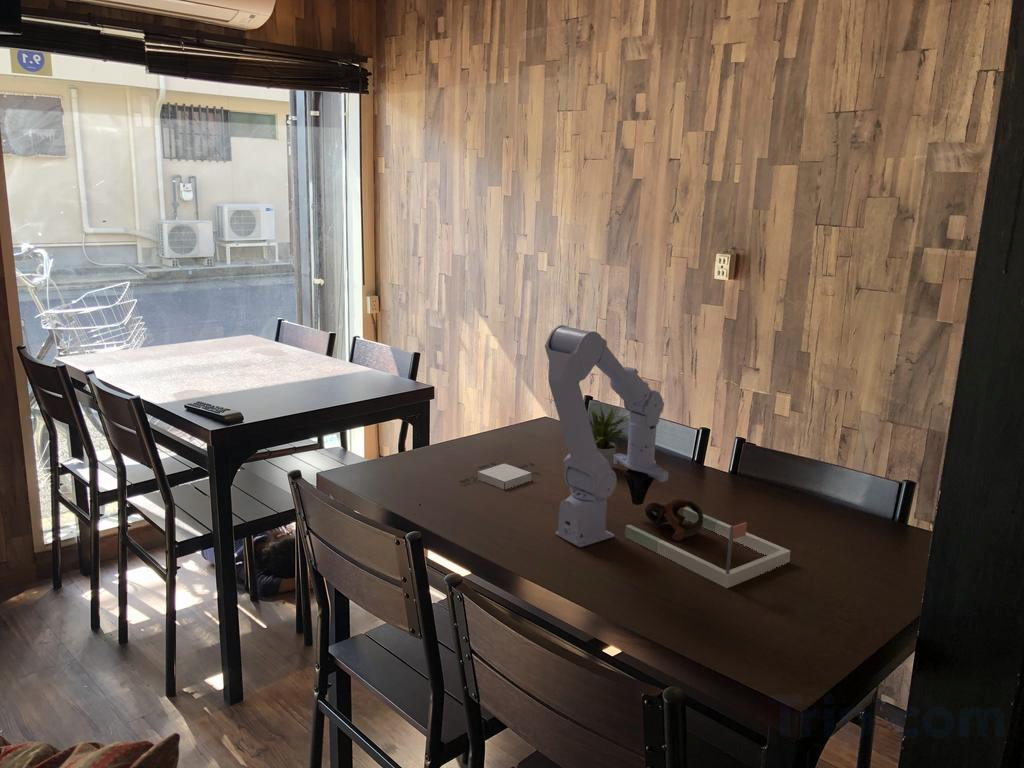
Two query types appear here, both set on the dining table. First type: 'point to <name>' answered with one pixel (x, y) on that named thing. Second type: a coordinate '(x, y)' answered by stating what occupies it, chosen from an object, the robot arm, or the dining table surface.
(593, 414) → the house plant
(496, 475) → the container
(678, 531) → the brown piece
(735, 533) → the open rectangular rail frame
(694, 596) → the dining table surface
